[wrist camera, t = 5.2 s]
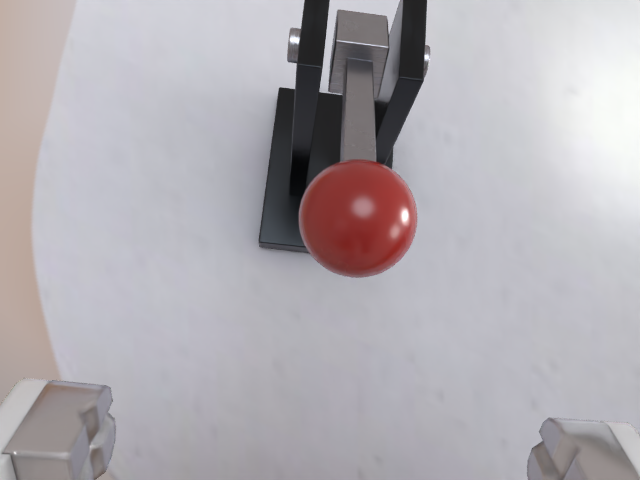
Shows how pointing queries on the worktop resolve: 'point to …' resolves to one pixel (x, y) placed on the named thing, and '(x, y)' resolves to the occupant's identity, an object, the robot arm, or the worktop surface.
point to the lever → (358, 165)
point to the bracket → (333, 114)
